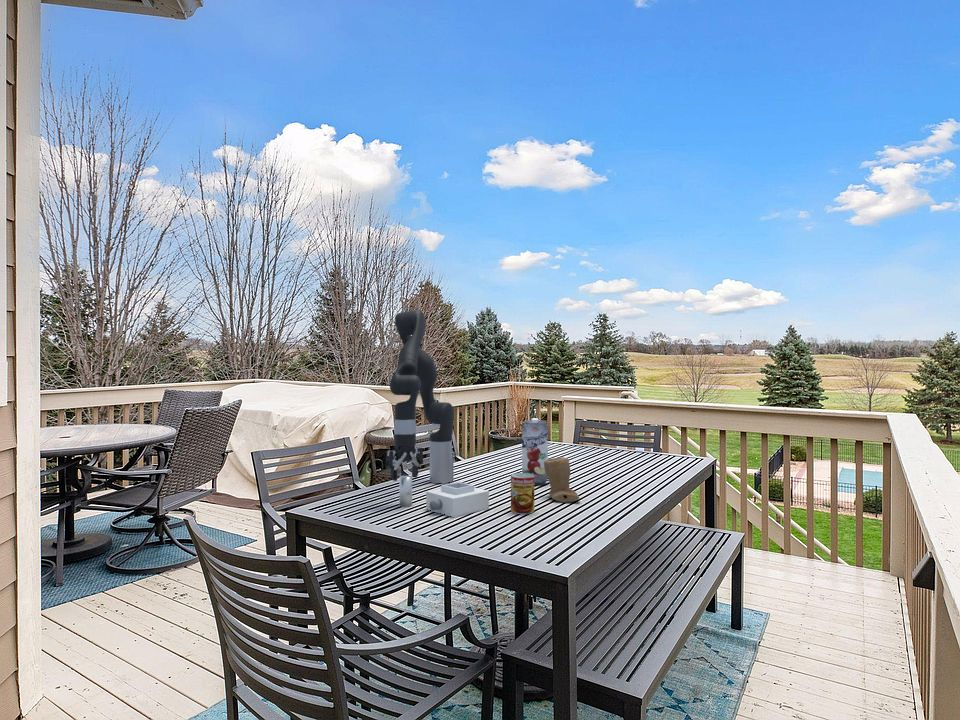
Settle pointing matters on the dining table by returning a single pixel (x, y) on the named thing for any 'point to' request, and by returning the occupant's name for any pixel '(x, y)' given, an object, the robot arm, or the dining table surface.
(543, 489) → the dining table surface
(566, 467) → the tan suede boot
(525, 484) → the canned food
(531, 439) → the juice carton
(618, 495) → the dining table surface
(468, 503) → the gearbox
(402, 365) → the robot arm
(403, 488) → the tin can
